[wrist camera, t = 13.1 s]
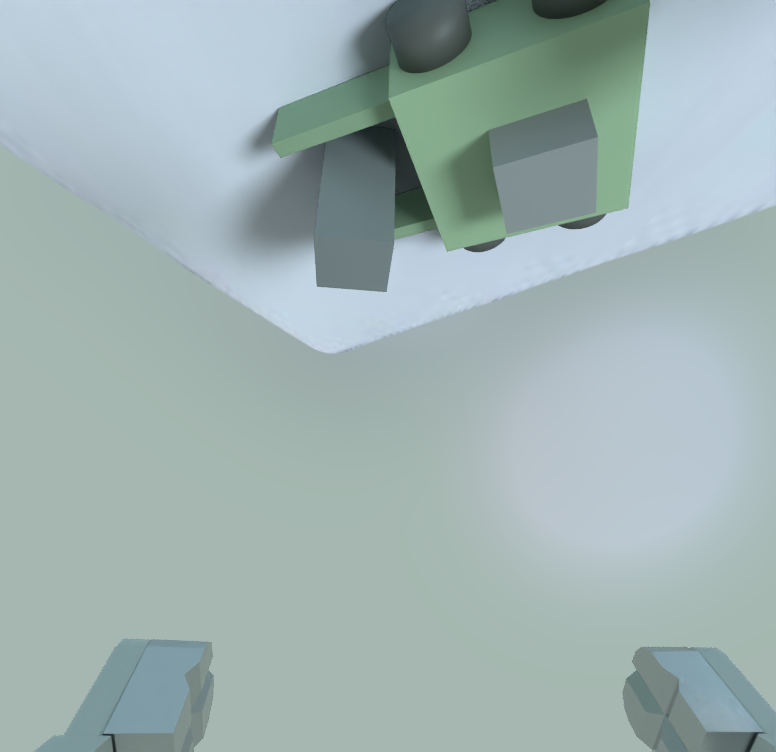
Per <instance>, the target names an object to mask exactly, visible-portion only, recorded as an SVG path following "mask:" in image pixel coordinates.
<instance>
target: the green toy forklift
mask: <svg viewBox="0 0 776 752" xmlns="http://www.w3.org/2000/svg"><path fill="white" fill-rule="evenodd" d="M649 8H650V1H649V0H497V1H494V2H492V3H489V4H487V5H484V6H482V7H480V8H477V9H475V10H472V11H470V12H468V10H467V5H466V0H398V1H397V2H396V3H395V4H394V5H393V6H392V7H391V9H390V10H389V11H388V13H387V15H386V18H385V26H386V29H387V31H388V34H389V37H390V40H391V43H392V44H390V65H387V66H385V67H382V68H379V69H377V70H374V71H372V72H369V73H367V74H364V75H362V76H359V77H357V78H354V79H352V80H349V81H347V82H344V83H341V84H339V85H336V86H334V87H331V88H329V89H326V90H324V91H321V92H319V93H316V94H314V95H311V96H308V97H306V98H303V99H301V100H298V101H296V102H293V103H291V104H288V105H286V106H283V107H281V108H279V110H278V115H277V120H276V124H275V129H274V134H273V139H272V146H273V147H274V149H275V150H276V152H277V153H278V155H279V156H280V158H282V157H285V156H287V155H290V154H293V153H296V152H299V151H302V150H304V149H307V148H310V147H313V146H316V145H319V144H321V143H324V142H327V141H330V140H333V139H336V138H339V137H341V136H344V135H347V134H350V133H353V132H356V131H358V130H361V129H364V128H367V127H370V126H373V125H375V124H378V123H381V122H384V121H387V120H390V119H392V118H395V117H396V119H397V122H398V125H399V127H400V130H401V133H402V135H403V138H404V140H405V143H406V146H407V148H408V151H409V154H410V156H411V159H412V161H413V164H414V167H415V169H416V172H417V175H418V177H419V180H420V182H421V185H422V187H421V188H418V189H414V190H411V191H408V192H404V193H401V194H397V195H395V217H394V239H398V238H402V237H406V236H410V235H413V234H417V233H421V232H425V231H429V230H433V229H437V228H438V230H439V232H440V235H441V237H442V240H443V243H444V245H445V248H446V250H447V252H448V251H452V250H456V249H460V248H464V249H466V250H468V251H472V252H483V251H488V250H490V249H493V248H495V247H496V246H498V245H499V244H501V243H502V242H503V241H504V239H505V238H506V237H510V236H514V235H519V234H523V233H527V232H531V231H535V230H539V229H544V228H548V227H552V226H556V225H559V226H561V227H563V228H567V229H582V228H586V227H589V226H592V225H594V224H596V223H597V222H599V221H600V220H601V219H602V218H603V217H604V216H605V215H606V214H607V213H610V212H614V211H618V210H623V209H627V208H628V205H629V196H630V187H631V177H632V168H633V158H634V149H635V139H636V130H637V121H638V111H639V102H640V92H641V83H642V73H643V64H644V55H645V45H646V36H647V26H648V17H649Z"/></svg>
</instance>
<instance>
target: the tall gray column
mask: <svg viewBox="0 0 776 752" xmlns="http://www.w3.org/2000/svg"><path fill="white" fill-rule="evenodd" d="M395 166H396V129H391V128H381V127H372V126H370V127H367V128H364V129H361V130H358V131H356V132H353V133H350V134H347V135H344V136H341V137H339V138H336V139H333V140H330V141H327V142H326V143H325V151H324V159H323V167H322V175H321V183H320V191H319V199H318V207H317V214H316V222H315V230H314V248H315V264H316V280H317V287H330V288H342V289H355V290H368V291H380V292H386V291H387V285H388V278H389V272H390V265H391V259H392V253H393V246H394V217H395Z"/></svg>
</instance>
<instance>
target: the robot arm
mask: <svg viewBox="0 0 776 752" xmlns="http://www.w3.org/2000/svg"><path fill="white" fill-rule="evenodd" d="M212 657H213V655H212V643H211V642H200V641H178V640H154V639H153V640H145V639H123V640H122V641H121V642H120V643H119V644H118V645H117V646H116V647H115V648H114V650H113V651H112V653H111V655H110V657H109V658H108V660H107V662H106V664H105V665H104V667H103V669H102V670H101V672H100V674H99V676H98V677H97V679H96V681H95V682H94V684H93V686H92V688H91V689H90V691H89V693H88V695H87V696H86V698H85V700H84V701H83V703H82V705H81V706H80V708H79V710H78V712H77V713H76V715H75V717H74V718H73V720H72V722H71V724H70V725H69V727H68V729H67V731H66V732H65V734H64V735H61V736H60V735H59V736H53V737H51V738H50V739H49V740H48V741H46V742H45V743H44V744H43V745H41V746H40V747H39V748H38V749H36V750H35V751H34V752H194V747H195V746H196V745H197V744H198V743H199V742H200V741H201V739H203V737H204V733H205V730H206V727H207V723H208V720H209V715H210V710H211V705H212V699H213V687H214V679H213V675H212V674H211V673H210V671H209V670H208V669H209V666H210V663H211V660H212ZM632 662H633V664H634V666H635V668H636V671H635V672H634V673H633V674H631V675H630V676H629V677H628V678H627V679H626V682H625V686H624V690H623V699H624V707H625V711H626V714H627V717H628V720H629V722H630V724H631V726H632V728H633V730H634V732H635V734H636V736H637V737H638V738H639V739H641V740H642V741H643V742H644V743H645V744H646V745H648V746H649V747H650V748H651V749H652V752H776V712H775V711H774V710H773V709H772V708H771V706H770V705H769V704H768V703H767V702H766V701H765V699H763V697H762V696H761V695H760V694H759V692H758V691H757V690H756V689H755V688H754V687H753V686H752V684H751V683H750V682H749V681H748V680H747V679H746V677H745V676H744V675H743V674H742V673H741V672H740V671H739V669H738V668H737V667H736V666H735V665H734V664H733V663H732V661H731V660H730V659H729V658H728V657H727V655H726V654H724V653H723V652H722V651H720V650H718V649H717V648H695V647H691V648H687V647H641V648H640V649H638V650H637V651H636V652H635V655H634V657H633V660H632Z"/></svg>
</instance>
